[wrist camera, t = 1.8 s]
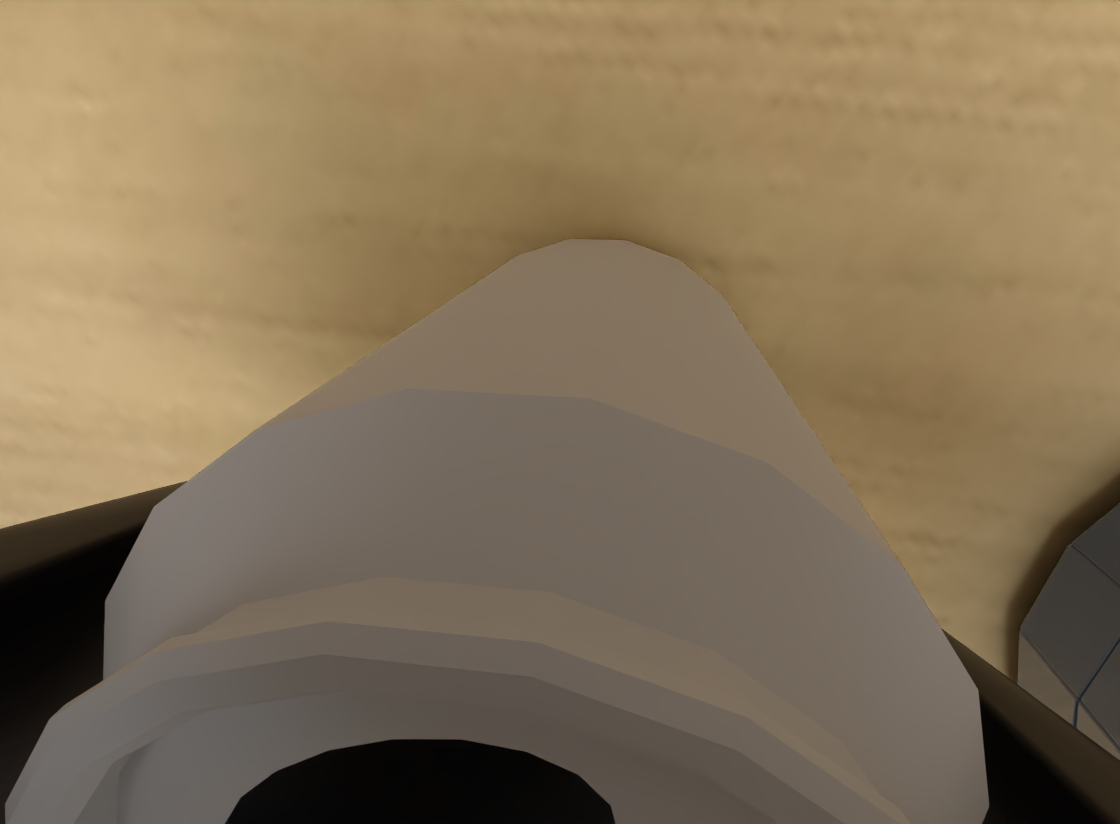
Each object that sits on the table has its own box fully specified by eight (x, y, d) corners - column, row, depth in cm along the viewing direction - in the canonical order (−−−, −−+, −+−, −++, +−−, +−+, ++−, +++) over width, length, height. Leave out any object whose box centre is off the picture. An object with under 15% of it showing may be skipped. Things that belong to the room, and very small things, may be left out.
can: (680, 171, 13) (975, 160, 1) (797, 465, 15) (1275, 1360, 4) (391, 318, 15) (-393, 775, 4) (530, 557, 17) (313, 1314, 6)
